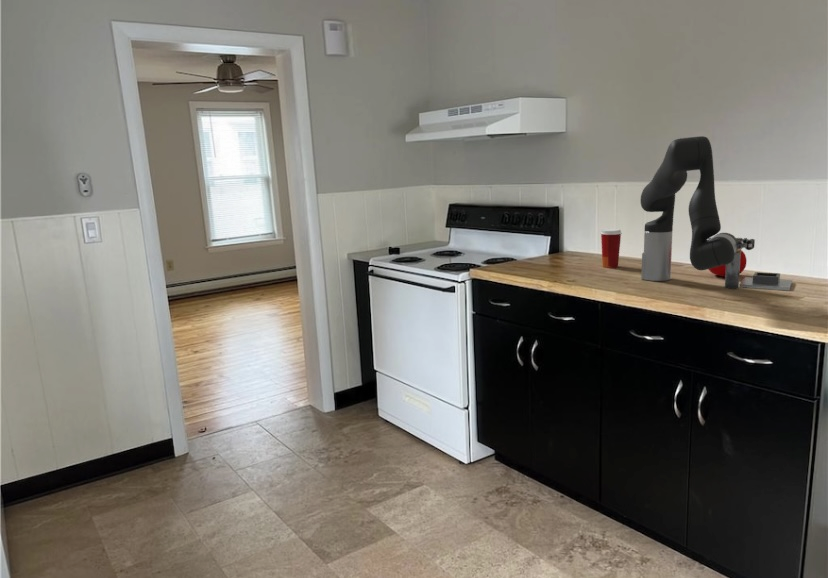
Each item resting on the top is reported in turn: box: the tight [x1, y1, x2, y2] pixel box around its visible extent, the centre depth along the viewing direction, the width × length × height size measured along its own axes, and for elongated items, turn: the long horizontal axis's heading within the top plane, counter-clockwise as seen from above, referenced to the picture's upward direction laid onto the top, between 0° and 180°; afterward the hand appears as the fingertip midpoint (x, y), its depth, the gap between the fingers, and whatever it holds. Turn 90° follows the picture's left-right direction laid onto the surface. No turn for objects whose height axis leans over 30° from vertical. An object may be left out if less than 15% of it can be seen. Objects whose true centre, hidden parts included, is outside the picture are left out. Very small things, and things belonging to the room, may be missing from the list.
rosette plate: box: [739, 271, 793, 291], centre depth 200 cm, size 14×14×4 cm
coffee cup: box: [599, 228, 622, 269], centre depth 246 cm, size 8×8×15 cm
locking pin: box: [724, 249, 742, 290], centre depth 197 cm, size 4×4×14 cm
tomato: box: [708, 249, 747, 278], centre depth 218 cm, size 12×13×11 cm
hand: (729, 241), depth 186 cm, fingers open, 8 cm apart
